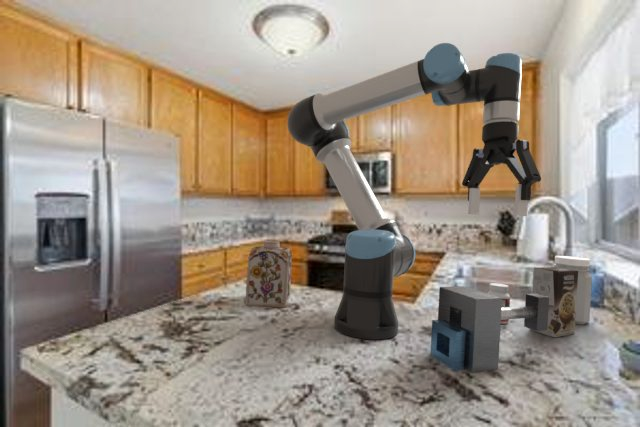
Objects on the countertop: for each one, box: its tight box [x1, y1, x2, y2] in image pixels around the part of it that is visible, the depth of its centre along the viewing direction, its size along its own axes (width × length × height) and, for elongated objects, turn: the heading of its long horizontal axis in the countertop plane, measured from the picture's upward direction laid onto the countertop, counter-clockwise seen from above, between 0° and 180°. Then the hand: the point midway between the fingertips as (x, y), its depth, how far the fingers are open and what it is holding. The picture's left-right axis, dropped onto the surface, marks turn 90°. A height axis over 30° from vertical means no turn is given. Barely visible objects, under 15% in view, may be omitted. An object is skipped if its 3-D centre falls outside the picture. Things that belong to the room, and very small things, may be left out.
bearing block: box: [437, 285, 502, 373], centre depth 68 cm, size 6×10×13 cm, turn 19°
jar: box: [554, 255, 593, 325], centre depth 101 cm, size 10×10×18 cm
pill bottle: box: [486, 282, 511, 325], centre depth 96 cm, size 6×6×10 cm
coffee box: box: [529, 266, 578, 338], centre depth 89 cm, size 9×6×16 cm
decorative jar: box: [245, 240, 293, 308], centre depth 103 cm, size 12×12×18 cm
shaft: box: [501, 293, 549, 332], centre depth 72 cm, size 20×3×7 cm, turn 109°
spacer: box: [429, 319, 466, 372], centre depth 67 cm, size 2×7×7 cm, turn 19°
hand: (495, 215), depth 82 cm, fingers open, 13 cm apart
